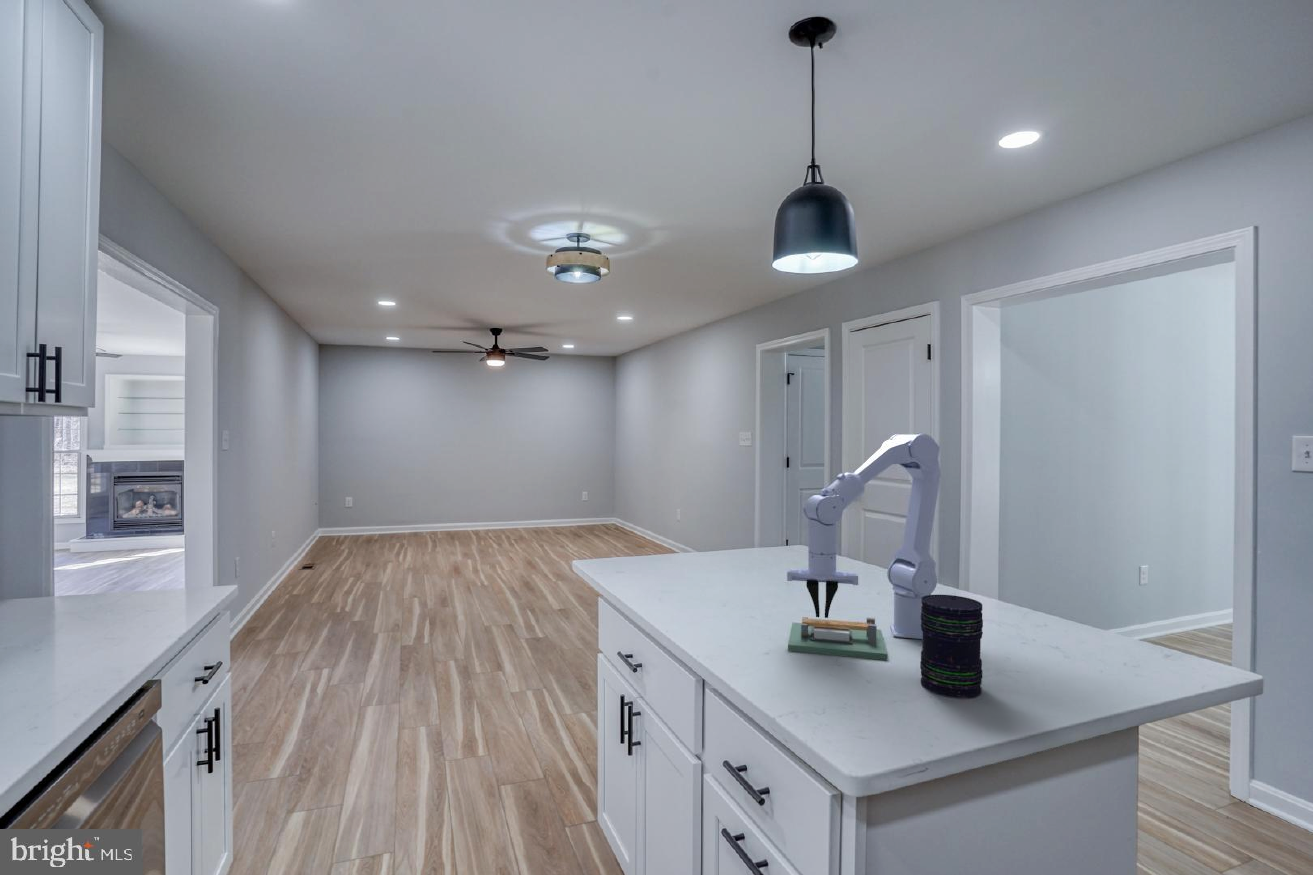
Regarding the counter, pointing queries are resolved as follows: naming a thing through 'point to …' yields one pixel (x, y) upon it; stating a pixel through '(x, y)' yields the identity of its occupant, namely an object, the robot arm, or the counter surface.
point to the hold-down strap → (836, 624)
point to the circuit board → (838, 641)
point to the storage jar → (951, 646)
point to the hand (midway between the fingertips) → (822, 616)
